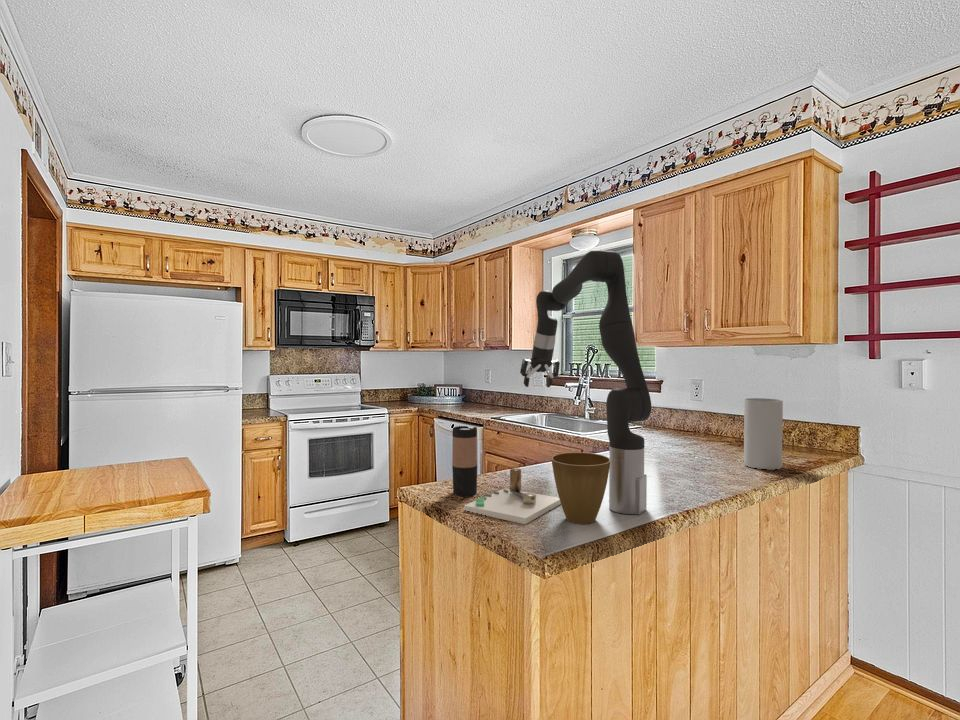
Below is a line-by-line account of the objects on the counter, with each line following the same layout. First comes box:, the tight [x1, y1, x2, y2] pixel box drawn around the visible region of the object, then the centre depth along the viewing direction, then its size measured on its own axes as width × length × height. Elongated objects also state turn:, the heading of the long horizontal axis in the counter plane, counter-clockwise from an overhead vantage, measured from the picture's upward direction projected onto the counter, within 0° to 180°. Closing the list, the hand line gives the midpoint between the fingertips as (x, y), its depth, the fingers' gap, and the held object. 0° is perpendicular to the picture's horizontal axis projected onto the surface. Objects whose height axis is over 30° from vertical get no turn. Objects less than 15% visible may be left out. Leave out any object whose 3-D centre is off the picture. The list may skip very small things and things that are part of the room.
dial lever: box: [509, 467, 536, 504], centre depth 146 cm, size 14×4×7 cm, turn 21°
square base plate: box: [463, 487, 561, 525], centre depth 144 cm, size 20×21×2 cm
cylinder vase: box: [743, 397, 784, 471], centre depth 192 cm, size 12×12×25 cm
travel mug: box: [451, 425, 478, 497], centre depth 157 cm, size 8×8×20 cm
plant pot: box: [550, 451, 610, 525], centre depth 133 cm, size 15×15×16 cm
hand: (537, 386), depth 192 cm, fingers open, 8 cm apart
